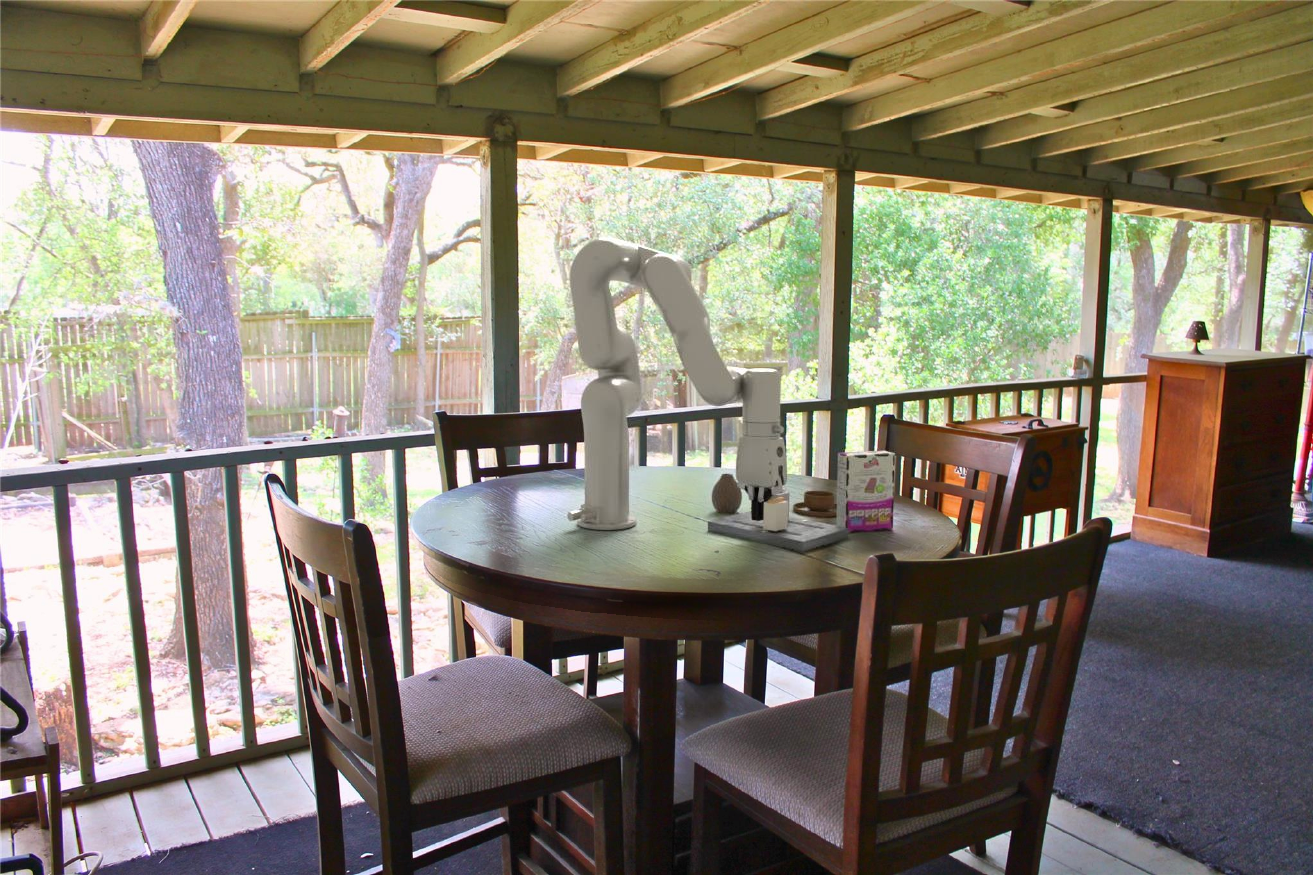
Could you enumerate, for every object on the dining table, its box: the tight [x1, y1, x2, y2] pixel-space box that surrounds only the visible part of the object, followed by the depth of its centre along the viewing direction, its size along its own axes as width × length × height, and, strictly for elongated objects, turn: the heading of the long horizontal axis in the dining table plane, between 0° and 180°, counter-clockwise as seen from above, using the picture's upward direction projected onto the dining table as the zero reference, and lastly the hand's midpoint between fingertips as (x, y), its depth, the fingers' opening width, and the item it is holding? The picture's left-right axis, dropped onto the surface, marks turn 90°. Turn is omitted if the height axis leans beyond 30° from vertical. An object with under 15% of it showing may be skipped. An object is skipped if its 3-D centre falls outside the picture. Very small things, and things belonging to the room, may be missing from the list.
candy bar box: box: [836, 450, 896, 533], centre depth 191 cm, size 11×5×16 cm, turn 105°
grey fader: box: [771, 487, 791, 518], centre depth 191 cm, size 4×3×6 cm
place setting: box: [792, 490, 837, 518], centre depth 213 cm, size 18×20×6 cm
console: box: [707, 510, 850, 553], centre depth 187 cm, size 16×24×2 cm, turn 46°
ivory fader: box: [763, 497, 788, 531], centre depth 182 cm, size 4×3×6 cm
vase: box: [711, 473, 743, 515], centre depth 207 cm, size 7×7×9 cm
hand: (759, 519), depth 185 cm, fingers closed
